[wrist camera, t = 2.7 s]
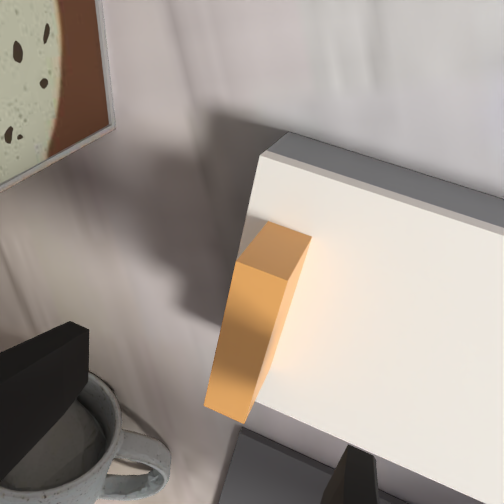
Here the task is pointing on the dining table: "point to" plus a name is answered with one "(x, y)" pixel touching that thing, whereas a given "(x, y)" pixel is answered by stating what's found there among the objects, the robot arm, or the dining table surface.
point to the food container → (51, 83)
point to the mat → (276, 475)
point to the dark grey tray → (392, 178)
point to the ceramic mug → (87, 457)
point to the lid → (369, 323)
